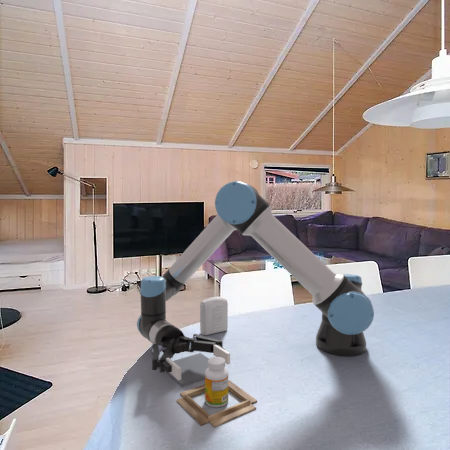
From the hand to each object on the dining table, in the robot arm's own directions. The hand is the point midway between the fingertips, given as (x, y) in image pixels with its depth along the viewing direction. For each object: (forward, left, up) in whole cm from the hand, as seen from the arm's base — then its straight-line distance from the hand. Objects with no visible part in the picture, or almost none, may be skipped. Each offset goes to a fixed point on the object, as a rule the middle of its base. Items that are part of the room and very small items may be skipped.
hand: (205, 366), depth 83 cm
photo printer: (+16, -36, -7) cm, 41 cm away
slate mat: (+9, -9, -7) cm, 15 cm away
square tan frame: (-4, +2, -7) cm, 8 cm away
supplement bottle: (-4, +2, -7) cm, 8 cm away
